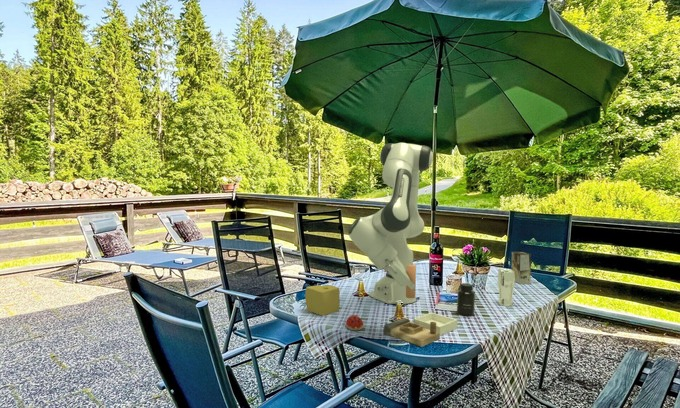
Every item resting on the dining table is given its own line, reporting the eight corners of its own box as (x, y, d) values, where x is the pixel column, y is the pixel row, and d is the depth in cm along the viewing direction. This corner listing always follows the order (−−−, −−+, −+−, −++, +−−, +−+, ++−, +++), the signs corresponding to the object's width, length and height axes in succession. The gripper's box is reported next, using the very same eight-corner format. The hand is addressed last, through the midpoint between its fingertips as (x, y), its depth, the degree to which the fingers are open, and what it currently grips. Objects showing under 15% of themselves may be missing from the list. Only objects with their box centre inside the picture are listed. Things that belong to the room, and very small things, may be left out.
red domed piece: (361, 322, 149) (361, 313, 149) (366, 331, 139) (366, 322, 139) (343, 322, 148) (343, 313, 148) (347, 332, 138) (347, 322, 138)
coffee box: (530, 283, 208) (531, 254, 208) (519, 284, 208) (520, 254, 207) (521, 279, 218) (521, 251, 217) (510, 280, 217) (511, 251, 216)
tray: (413, 327, 143) (413, 318, 143) (431, 320, 151) (431, 312, 151) (439, 335, 135) (439, 327, 135) (457, 328, 143) (457, 319, 142)
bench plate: (382, 333, 137) (382, 318, 137) (404, 325, 145) (404, 310, 145) (419, 347, 125) (420, 330, 125) (440, 338, 133) (441, 322, 133)
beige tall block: (515, 307, 168) (516, 272, 167) (498, 305, 169) (499, 271, 169) (512, 302, 175) (512, 269, 174) (495, 301, 176) (496, 268, 176)
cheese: (323, 305, 169) (323, 282, 168) (340, 311, 161) (341, 287, 161) (304, 310, 162) (305, 287, 161) (322, 317, 154) (322, 292, 153)
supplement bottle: (465, 317, 155) (466, 287, 154) (453, 312, 161) (453, 283, 160) (478, 314, 158) (478, 285, 157) (465, 309, 164) (466, 281, 163)
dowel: (403, 296, 135) (404, 265, 134) (409, 295, 137) (410, 264, 136) (411, 298, 132) (412, 267, 132) (417, 297, 135) (418, 265, 134)
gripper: (394, 256, 124) (424, 288, 124) (389, 246, 144) (415, 272, 144) (379, 270, 124) (409, 301, 124) (377, 257, 145) (403, 284, 145)
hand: (412, 286), depth 134 cm, fingers closed on dowel, 3 cm apart
